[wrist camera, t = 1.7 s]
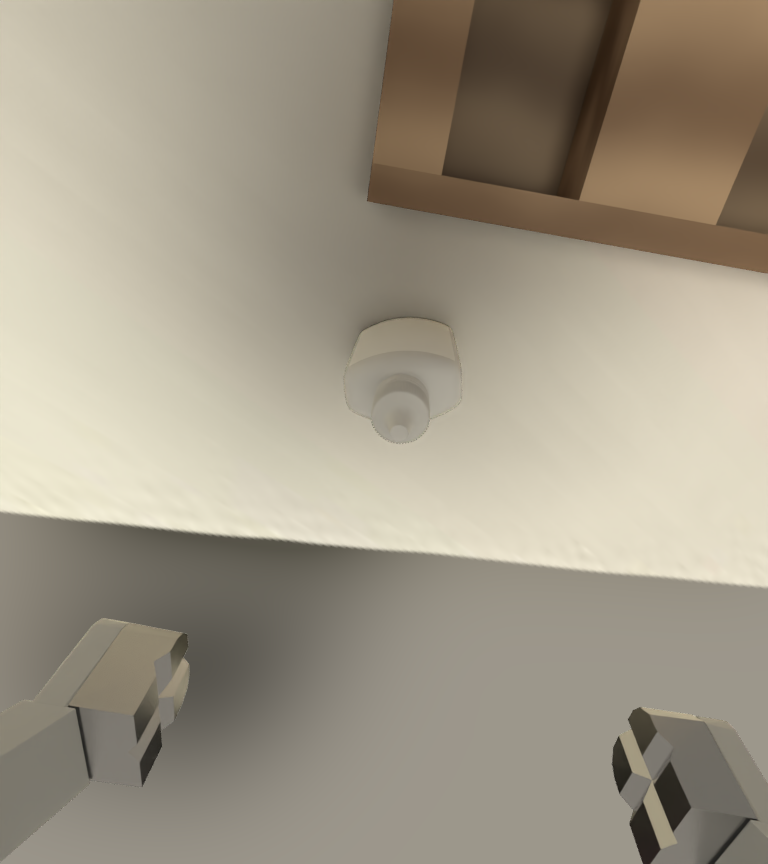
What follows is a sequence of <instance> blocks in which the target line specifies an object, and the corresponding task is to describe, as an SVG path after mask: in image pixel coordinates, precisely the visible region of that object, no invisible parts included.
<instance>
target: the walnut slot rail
mask: <svg viewBox="0 0 768 864" xmlns="http://www.w3.org/2000/svg"><path fill="white" fill-rule="evenodd" d="M367 201H369V202H374V203H380V204H385V205H391V206H396V207H402V208H407V209H413V210H419V211H424V212H430V213H435V214H441V215H446V216H452V217H457V218H463V219H468V220H474V221H480V222H485V223H491V224H496V225H502V226H507V227H513V228H518V229H524V230H529V231H535V232H541V233H546V234H552V235H557V236H563V237H568V238H574V239H579V240H585V241H590V242H596V243H601V244H607V245H613V246H618V247H624V248H629V249H635V250H640V251H646V252H651V253H657V254H662V255H668V256H674V257H679V258H685V259H690V260H696V261H701V262H707V263H712V264H718V265H723V266H729V267H735V268H740V269H746V270H751V271H757V272H762V273H768V0H394V2H393V9H392V17H391V24H390V32H389V39H388V47H387V54H386V62H385V70H384V77H383V85H382V92H381V100H380V107H379V115H378V123H377V130H376V138H375V145H374V153H373V160H372V168H371V175H370V183H369V191H368V198H367Z"/></svg>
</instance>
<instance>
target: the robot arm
mask: <svg viewBox="0 0 768 864" xmlns="http://www.w3.org/2000/svg"><path fill="white" fill-rule="evenodd" d="M188 647H189V646H188V635H187V634H185V633H180V632H175V631H170V630H164V629H159V628H154V627H148V626H144V625H139V624H134V623H127V622H122V621H117V620H110V619H105V618H102V619H101V620H99V621H98V622H96V623H95V624H94V625H92V627H91V628H90V629H89V630H88V632H87V633H86V634H85V635H84V637H83V638H82V639H81V641H80V642H79V643H78V644H77V646H76V647H75V648H74V649H73V650H72V652H71V653H70V654H69V656H68V657H67V658H66V659H65V661H64V662H63V663H62V664H61V666H60V667H59V668H58V669H57V671H56V672H55V673H54V675H53V676H52V677H51V678H50V680H49V681H48V682H47V683H46V685H45V686H44V687H43V689H42V690H41V691H40V692H39V693H38V695H37V696H36V697H35V699H34V700H33V701H29V700H22V701H20V702H19V703H17V704H15V705H14V706H12V707H10V708H8V709H7V710H5V711H3V712H1V713H0V862H1V861H2V860H3V859H5V858H6V857H7V856H8V855H9V854H10V853H11V852H12V851H13V850H15V849H16V848H17V847H18V846H19V845H21V844H22V843H23V842H24V841H25V840H26V839H27V838H29V837H30V836H31V835H32V834H33V833H34V832H36V831H37V830H38V829H39V828H40V827H41V826H42V825H43V824H45V823H46V822H47V821H48V820H49V819H50V818H52V817H53V816H54V815H55V814H56V813H57V812H58V811H60V810H61V809H62V808H63V807H64V806H65V805H67V804H68V803H69V802H70V801H71V800H72V799H73V798H75V797H76V796H77V795H78V794H79V793H80V792H81V791H83V790H84V789H85V788H86V787H87V786H88V785H89V784H90V781H89V780H91V781H98V782H105V783H113V784H120V785H128V786H135V787H143V785H144V783H145V780H146V778H147V776H148V774H149V772H150V770H151V768H152V766H153V764H154V762H155V760H156V758H157V756H158V754H159V752H160V750H161V747H162V737H161V730H162V729H164V728H165V727H167V726H168V725H169V724H170V723H172V722H173V721H174V720H175V719H176V716H177V714H178V712H179V710H180V708H181V706H182V703H183V700H184V697H185V694H186V690H187V687H188V680H189V664H188V662H187V661H186V660H185V659H184V658H183V657H184V655H185V653H186V651H187V649H188ZM628 721H629V724H630V726H631V729H630V730H628V731H626V732H624V733H622V734H621V735H619V736H618V738H617V741H616V743H615V745H614V747H613V758H612V766H613V772H614V778H615V781H616V785H617V788H618V791H619V794H620V795H621V796H622V798H623V799H624V800H625V801H626V802H627V803H628V804H629V806H630V807H631V808H632V809H633V813H632V816H631V820H630V827H631V830H632V833H633V836H634V839H635V842H636V845H637V848H638V851H639V854H640V856H641V860H642V862H643V864H768V783H767V782H766V780H765V778H764V777H763V775H762V773H761V772H760V770H759V768H758V767H757V765H756V763H755V762H754V760H753V758H752V757H751V755H750V753H749V752H748V750H747V748H746V747H745V745H744V743H743V742H742V740H741V738H740V737H739V735H738V733H737V732H736V730H735V729H734V728H733V727H732V726H731V725H730V724H729V723H728V722H727V721H723V720H718V719H711V718H705V717H699V716H693V715H690V714H683V713H677V712H671V711H663V710H657V709H650V708H643V707H639V708H637V709H635V710H633V711H632V713H631V715H630V717H629V718H628Z"/></svg>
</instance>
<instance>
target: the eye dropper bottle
mask: <svg viewBox="0 0 768 864" xmlns="http://www.w3.org/2000/svg"><path fill="white" fill-rule="evenodd" d="M344 390H345V398H346V403H347V405H348V407H349V409H350V410H352V411H353V412H354V413H356V414H358V415H361V416H363V417H366V418H369V419H371V420H372V423H373V424H372V425H373V426H374V427H373V428H375V431H377V433H379V434H378V435H381V437H383V439H385V440H388V441H390V442H393V443H399V444H401V443H402V444H403V443H409V442H412V441H415V440H417V438H420V436H422V434H424V432H426V430H427V427H428V425H429V422H430V419H432V418H435V417H438V416H440V415H442V414H444V413H446V412H448V411H450V410H452V409H454V408H455V407H456V406H457V405H458V404H459V403H460V401H461V398H462V370H461V364H460V360H459V355H458V351H457V347H456V343H455V339H454V335H453V332H452V329H451V328H449V327H448V326H447V325H445V324H442V323H439V322H436V321H433V320H428V319H423V318H410V317H409V318H397V319H391V320H387V321H384V322H381V323H378V324H375V325H373V326H371V327H369V328H367V329H365V330H364V331H362V332H361V334H360V335H359V336H358V339H357V341H356V344H355V346H354V349H353V351H352V353H351V356H350V359H349V361H348V364H347V367H346V370H345V374H344Z"/></svg>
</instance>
